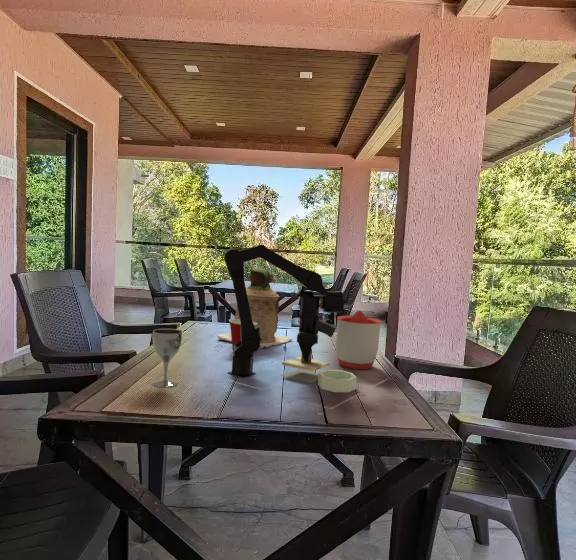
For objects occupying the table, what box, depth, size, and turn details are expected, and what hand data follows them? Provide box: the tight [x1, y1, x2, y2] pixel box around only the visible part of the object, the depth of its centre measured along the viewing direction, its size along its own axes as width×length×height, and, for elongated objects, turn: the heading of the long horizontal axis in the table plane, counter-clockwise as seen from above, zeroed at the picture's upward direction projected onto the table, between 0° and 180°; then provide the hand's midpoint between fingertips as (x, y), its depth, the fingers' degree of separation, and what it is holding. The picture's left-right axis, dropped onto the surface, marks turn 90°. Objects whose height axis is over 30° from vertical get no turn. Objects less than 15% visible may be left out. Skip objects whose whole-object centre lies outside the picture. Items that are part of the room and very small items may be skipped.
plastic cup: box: [228, 318, 257, 353], centre depth 175 cm, size 11×11×12 cm
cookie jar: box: [216, 265, 293, 349], centre depth 197 cm, size 25×25×32 cm
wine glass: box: [151, 328, 183, 389], centre depth 130 cm, size 8×8×15 cm
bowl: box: [317, 369, 358, 393], centre depth 137 cm, size 10×10×4 cm
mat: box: [280, 368, 319, 384], centre depth 147 cm, size 11×11×1 cm
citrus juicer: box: [335, 310, 382, 371], centre depth 166 cm, size 16×17×20 cm
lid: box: [281, 348, 331, 372], centre depth 147 cm, size 11×11×5 cm
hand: (306, 360), depth 147 cm, fingers closed on lid, 3 cm apart
